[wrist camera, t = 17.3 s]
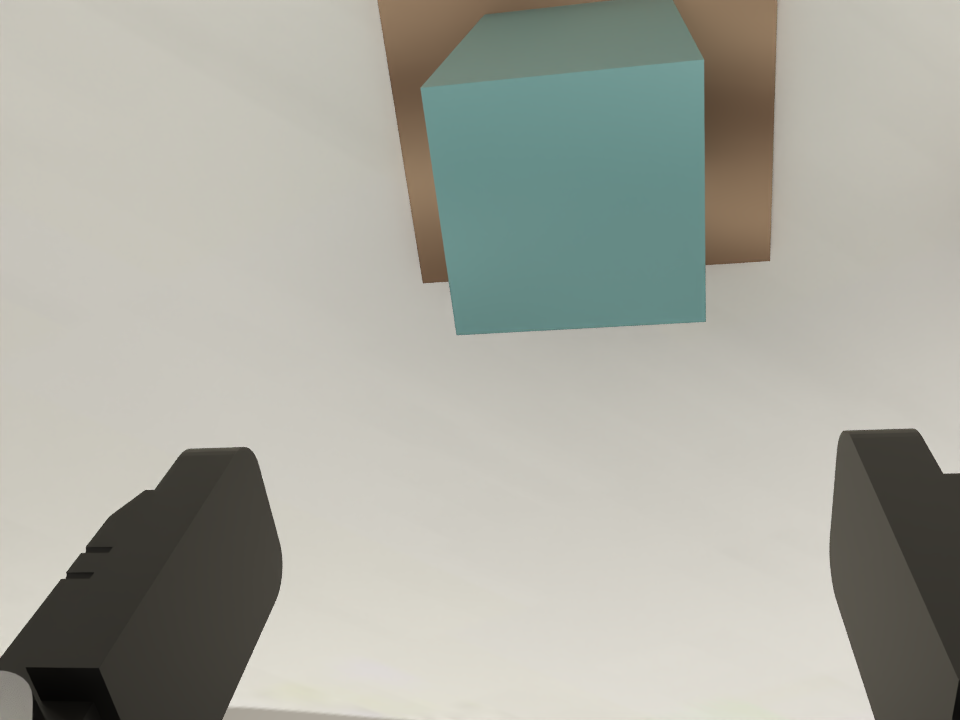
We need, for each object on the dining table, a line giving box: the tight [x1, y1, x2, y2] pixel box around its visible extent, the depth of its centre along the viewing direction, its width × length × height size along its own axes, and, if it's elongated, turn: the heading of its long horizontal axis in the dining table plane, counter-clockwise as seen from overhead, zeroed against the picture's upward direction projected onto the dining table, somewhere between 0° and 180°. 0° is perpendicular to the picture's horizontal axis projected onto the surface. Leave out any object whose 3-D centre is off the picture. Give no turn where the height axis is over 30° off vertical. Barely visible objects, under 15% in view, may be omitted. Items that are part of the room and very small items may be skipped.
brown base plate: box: [378, 0, 777, 283], centre depth 26 cm, size 12×12×8 cm
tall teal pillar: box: [421, 0, 706, 335], centre depth 24 cm, size 6×6×11 cm
